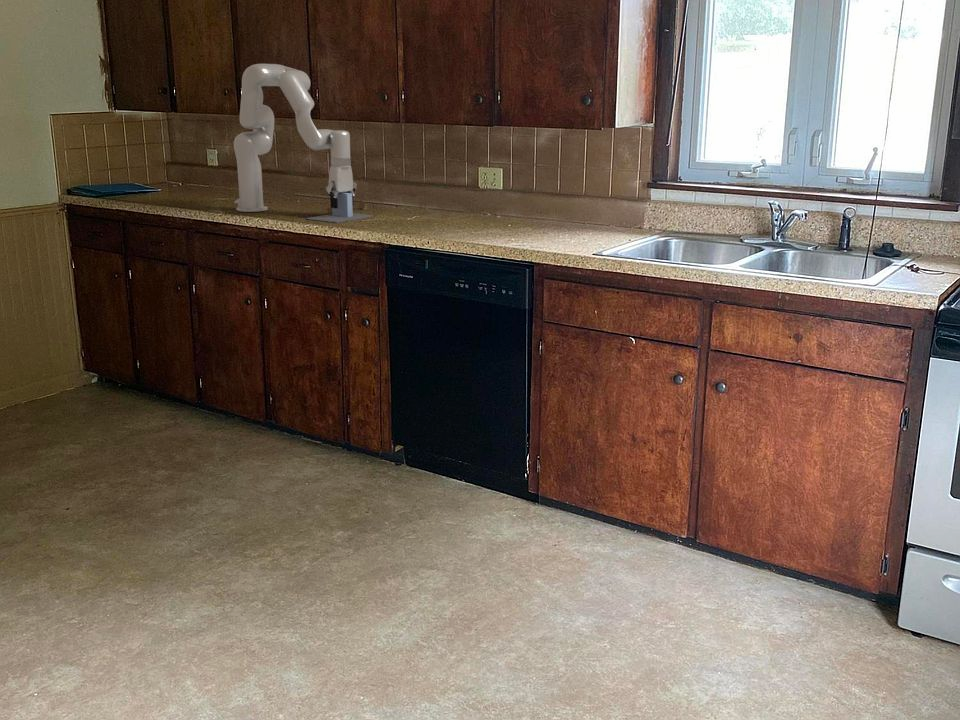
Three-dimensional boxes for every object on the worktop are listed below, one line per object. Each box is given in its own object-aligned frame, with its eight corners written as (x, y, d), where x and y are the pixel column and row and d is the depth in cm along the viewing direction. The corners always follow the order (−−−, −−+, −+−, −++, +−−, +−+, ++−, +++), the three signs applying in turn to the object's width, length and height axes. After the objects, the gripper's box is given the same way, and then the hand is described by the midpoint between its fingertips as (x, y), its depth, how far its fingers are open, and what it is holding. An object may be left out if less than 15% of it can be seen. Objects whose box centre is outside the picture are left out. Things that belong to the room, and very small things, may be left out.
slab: (332, 215, 379) (331, 192, 377) (337, 214, 382) (336, 191, 379) (347, 217, 375) (347, 194, 372) (352, 216, 377) (352, 193, 375)
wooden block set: (342, 220, 388) (349, 197, 383) (325, 210, 390) (332, 187, 385) (366, 212, 403) (373, 191, 398) (350, 203, 405) (357, 181, 401)
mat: (305, 219, 371) (305, 218, 370) (342, 213, 388) (342, 212, 388) (336, 223, 362) (336, 221, 362) (372, 216, 380) (372, 215, 380)
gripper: (347, 160, 381) (349, 203, 386) (318, 163, 367) (320, 208, 372) (362, 161, 377) (363, 205, 382) (333, 165, 363) (335, 209, 368)
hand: (342, 206), depth 377 cm, fingers open, 9 cm apart
